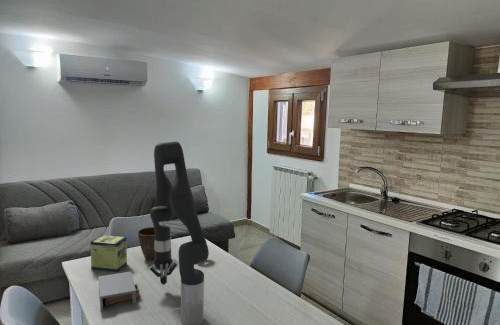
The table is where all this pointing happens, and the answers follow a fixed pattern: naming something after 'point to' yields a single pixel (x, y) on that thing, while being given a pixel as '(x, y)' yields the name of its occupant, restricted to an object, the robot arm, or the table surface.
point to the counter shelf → (116, 286)
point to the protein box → (108, 253)
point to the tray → (122, 297)
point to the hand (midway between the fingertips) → (163, 283)
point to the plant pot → (147, 242)
